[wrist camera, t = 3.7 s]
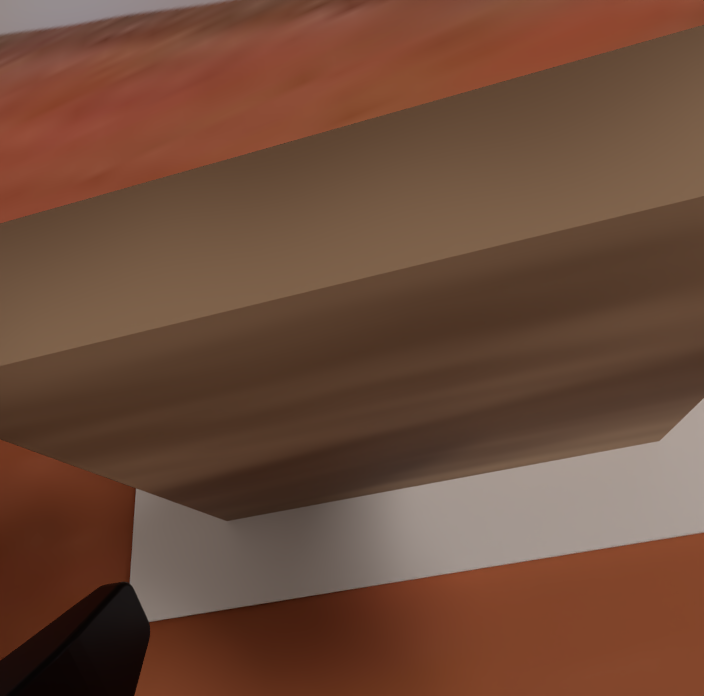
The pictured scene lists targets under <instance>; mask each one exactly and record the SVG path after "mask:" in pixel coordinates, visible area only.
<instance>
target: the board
mask: <svg viewBox="0 0 704 696" xmlns="http://www.w3.org/2000/svg"><path fill="white" fill-rule="evenodd" d="M703 398H704V25H702V26H698V27H695V28H691V29H688V30H684V31H681V32H677V33H674V34H670V35H667V36H663V37H659V38H656V39H652V40H649V41H645V42H642V43H638V44H635V45H631V46H628V47H624V48H620V49H617V50H613V51H610V52H606V53H603V54H599V55H596V56H592V57H589V58H585V59H582V60H578V61H574V62H571V63H567V64H564V65H560V66H557V67H553V68H550V69H546V70H543V71H539V72H535V73H532V74H528V75H525V76H521V77H518V78H514V79H511V80H507V81H504V82H500V83H496V84H493V85H489V86H486V87H482V88H479V89H475V90H472V91H468V92H465V93H461V94H458V95H454V96H450V97H447V98H443V99H440V100H436V101H433V102H429V103H426V104H422V105H419V106H415V107H411V108H408V109H404V110H401V111H397V112H394V113H390V114H387V115H383V116H380V117H376V118H372V119H369V120H365V121H362V122H358V123H355V124H351V125H348V126H344V127H341V128H337V129H334V130H330V131H326V132H323V133H319V134H316V135H312V136H309V137H305V138H302V139H298V140H295V141H291V142H287V143H284V144H280V145H277V146H273V147H270V148H266V149H263V150H259V151H256V152H252V153H248V154H245V155H241V156H238V157H234V158H231V159H227V160H224V161H220V162H217V163H213V164H210V165H206V166H202V167H199V168H195V169H192V170H188V171H185V172H181V173H178V174H174V175H171V176H167V177H163V178H160V179H156V180H153V181H149V182H146V183H142V184H139V185H135V186H132V187H128V188H124V189H121V190H117V191H114V192H110V193H107V194H103V195H100V196H96V197H93V198H89V199H86V200H82V201H78V202H75V203H71V204H68V205H64V206H61V207H57V208H54V209H50V210H47V211H43V212H39V213H36V214H32V215H29V216H25V217H22V218H18V219H15V220H11V221H8V222H4V223H0V439H1V440H4V441H6V442H9V443H12V444H15V445H17V446H20V447H23V448H26V449H29V450H31V451H34V452H37V453H40V454H42V455H45V456H48V457H51V458H53V459H56V460H59V461H62V462H65V463H67V464H70V465H73V466H76V467H78V468H81V469H84V470H87V471H89V472H92V473H95V474H98V475H100V476H103V477H106V478H109V479H112V480H114V481H117V482H120V483H123V484H125V485H128V486H131V487H134V488H136V489H139V490H142V491H145V492H147V493H150V494H153V495H156V496H159V497H161V498H164V499H167V500H170V501H172V502H175V503H178V504H181V505H183V506H186V507H189V508H192V509H194V510H197V511H200V512H203V513H206V514H208V515H211V516H214V517H217V518H219V519H222V520H225V521H231V520H236V519H241V518H247V517H252V516H258V515H263V514H268V513H274V512H279V511H285V510H290V509H295V508H301V507H306V506H312V505H317V504H322V503H328V502H333V501H339V500H344V499H349V498H355V497H360V496H366V495H371V494H376V493H382V492H387V491H393V490H398V489H403V488H409V487H414V486H420V485H425V484H430V483H436V482H441V481H447V480H452V479H457V478H463V477H468V476H474V475H479V474H484V473H490V472H495V471H501V470H506V469H511V468H517V467H522V466H528V465H533V464H538V463H544V462H549V461H555V460H560V459H565V458H571V457H576V456H582V455H587V454H592V453H598V452H603V451H609V450H614V449H619V448H625V447H630V446H636V445H641V444H646V443H652V442H657V441H660V440H661V439H662V438H663V437H664V436H665V435H666V434H667V433H668V432H669V431H670V430H671V429H672V428H674V427H675V426H676V425H677V424H678V423H679V422H680V421H681V420H682V419H683V418H684V417H685V416H686V415H687V414H688V413H689V412H690V411H691V410H692V409H693V408H694V407H695V406H696V405H697V404H698V403H699V402H700V401H701V400H702V399H703Z"/></svg>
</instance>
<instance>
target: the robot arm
mask: <svg viewBox="0 0 704 696" xmlns="http://www.w3.org/2000/svg"><path fill="white" fill-rule="evenodd" d="M149 637H150V626H149V621H148V619H147V616H146V614H145V612H144V610H143V608H142V605H141V603H140V601H139V599H138V597H137V594H136V592H135V590H134V588H133V586H132V585H131V584H129V583H128V582H118V583H112V584H107V585H103V586H101V587H99V588H97V589H96V590H95V591H93V592H92V593H91V594H89V595H88V596H87V597H85V598H84V599H83V600H81V601H80V602H78V603H77V604H76V605H74V606H73V607H72V608H70V609H69V610H68V611H66V612H65V613H64V614H62V615H61V616H60V617H58V618H57V619H56V620H54V621H53V622H52V623H50V624H49V625H48V626H46V627H45V628H44V629H42V630H41V631H40V632H38V633H37V634H36V635H34V636H33V637H32V638H30V639H29V640H28V641H26V642H25V643H24V644H22V645H21V646H20V647H18V648H17V649H15V650H14V651H13V652H11V653H10V654H9V655H7V656H6V657H5V658H3V659H2V660H1V661H0V696H134V695H135V691H136V687H137V683H138V680H139V676H140V672H141V668H142V665H143V661H144V657H145V653H146V650H147V646H148V642H149Z"/></svg>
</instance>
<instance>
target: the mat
mask: <svg viewBox="0 0 704 696" xmlns="http://www.w3.org/2000/svg"><path fill="white" fill-rule="evenodd" d="M698 533H704V398H703V399H702V400H701V401H700V402H699V403H698V404H697V405H696V406H695V407H694V408H693V409H692V410H691V411H690V412H689V413H688V414H687V415H686V416H685V417H684V418H683V419H682V420H681V421H680V422H679V423H678V424H677V425H676V426H675V427H674V428H672V429H671V430H670V431H669V432H668V433H667V434H666V435H665V436H664V437H663V438H662V439H661V440H660V441H657V442H652V443H646V444H641V445H636V446H630V447H625V448H619V449H614V450H609V451H603V452H598V453H592V454H587V455H582V456H576V457H571V458H565V459H560V460H555V461H549V462H544V463H538V464H533V465H528V466H522V467H517V468H511V469H506V470H501V471H495V472H490V473H484V474H479V475H474V476H468V477H463V478H457V479H452V480H447V481H441V482H436V483H430V484H425V485H420V486H414V487H409V488H403V489H398V490H393V491H387V492H382V493H376V494H371V495H366V496H360V497H355V498H349V499H344V500H339V501H333V502H328V503H322V504H317V505H312V506H306V507H301V508H295V509H290V510H285V511H279V512H274V513H268V514H263V515H258V516H252V517H247V518H241V519H236V520H231V521H225V520H222V519H219V518H217V517H214V516H211V515H208V514H206V513H203V512H200V511H197V510H194V509H192V508H189V507H186V506H183V505H181V504H178V503H175V502H172V501H170V500H167V499H164V498H161V497H159V496H156V495H153V494H150V493H147V492H145V491H142V490H139V489H136V497H135V512H134V526H133V541H132V556H131V571H130V584H131V585H132V586H133V588H134V590H135V592H136V594H137V597H138V599H139V601H140V603H141V605H142V608H143V610H144V612H145V614H146V616H147V619H148V621H149V622H152V621H159V620H165V619H171V618H177V617H183V616H190V615H196V614H202V613H208V612H214V611H221V610H227V609H233V608H239V607H245V606H252V605H258V604H264V603H270V602H276V601H283V600H289V599H295V598H301V597H307V596H314V595H320V594H326V593H332V592H338V591H344V590H351V589H357V588H363V587H369V586H375V585H382V584H388V583H394V582H400V581H406V580H413V579H419V578H425V577H431V576H437V575H444V574H450V573H456V572H462V571H468V570H475V569H481V568H487V567H493V566H499V565H506V564H512V563H518V562H524V561H530V560H537V559H543V558H549V557H555V556H561V555H568V554H574V553H580V552H586V551H592V550H598V549H605V548H611V547H617V546H623V545H629V544H636V543H642V542H648V541H654V540H660V539H667V538H673V537H679V536H685V535H691V534H698Z"/></svg>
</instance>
